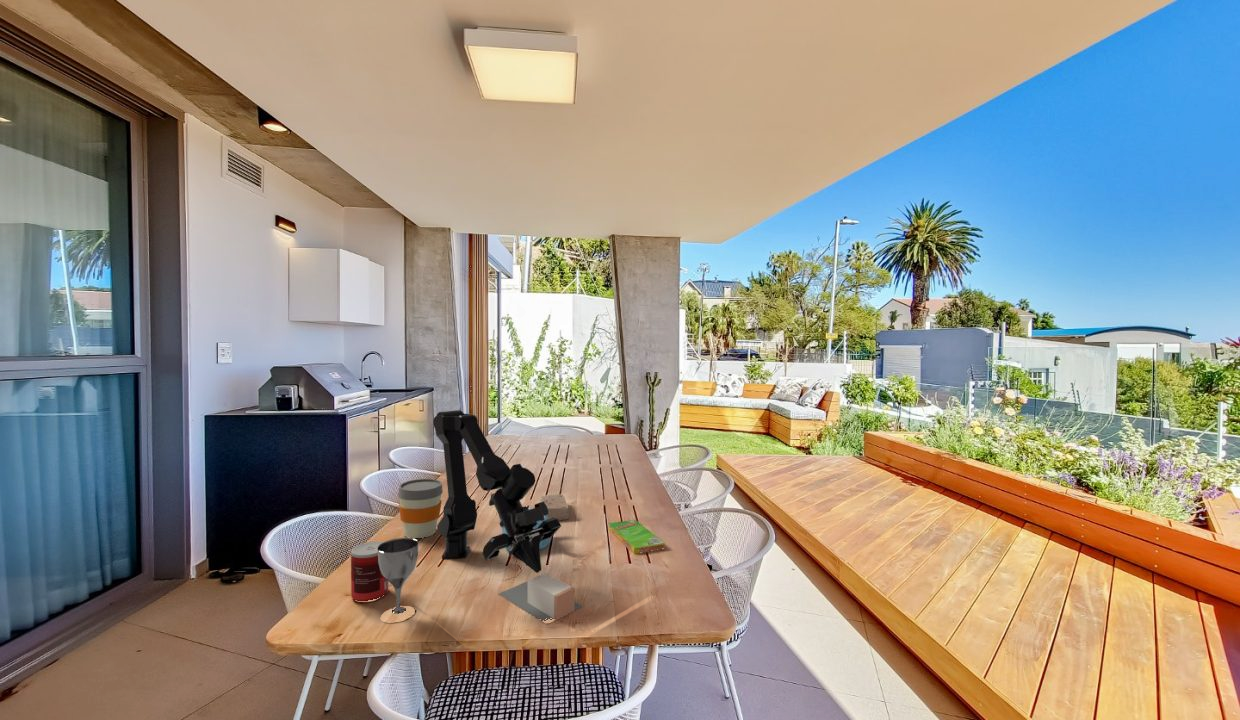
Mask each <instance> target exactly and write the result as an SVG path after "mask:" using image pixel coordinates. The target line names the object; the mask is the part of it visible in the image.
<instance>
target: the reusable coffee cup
mask: <svg viewBox="0 0 1240 720" xmlns="http://www.w3.org/2000/svg"><path fill="white" fill-rule="evenodd" d="M442 494H443V482H442V481H441V480H437V479H435V478H434V479H433V478H420V479H419V478H418V479H411V480H407V481H404V482H402V483H400V484H399V486H398V492H397V497H398V498H399V502H400V503H399V504H398V508H399V517H400V518H399V519H400V521H401V522H402V528H403V535H405V536H406V537H410V538H422V539H425V538H424V537H427V538H429V537H428V536H430V537H431V535H432V536H434V535H435V534H436V530H437V525H438V519H439V517H440V512H441V507H442V499H441V497H442ZM434 533H435V534H434ZM433 534H434V535H433ZM405 536H404V537H405ZM406 537H405V538H406Z"/></svg>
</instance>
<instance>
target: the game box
mask: <svg viewBox="0 0 1240 720" xmlns="http://www.w3.org/2000/svg"><path fill="white" fill-rule="evenodd" d="M608 526H609V532H610V533H611V534H612V535H613V536H614V537H615V538H616V539H618V541H619V540H620V541H621V542H620V541H619V542H620V543H622V544H623V546H624V547H626V548H627V549H628V550H629V551H630V552H631V553H632V552H633V553H634V554H633V553H632V554H633V555H637V554H636V553H640V552H645V553H648V552H647V551H651V550H657V549H662V548H664V549H665V545H666V544H665V542H664V541H662V540H661V539H660V538H659V537H657V536H656V535H655V534H654V533H652V531H650V530H649V529H648V528H647V527H645V526H644V525H643V524H642V523H641V522H639V521H638V520H636V519H632V520H631V519H630V520H624V521H617V522H616V521H615V522H608ZM657 551H658V550H657ZM651 552H652V551H651ZM640 554H641V553H640Z"/></svg>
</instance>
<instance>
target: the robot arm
mask: <svg viewBox="0 0 1240 720" xmlns="http://www.w3.org/2000/svg"><path fill="white" fill-rule="evenodd" d="M478 422H479V421H478V417H477V416H476V415H475V414H472V413H464V412H463V411H462V410H461V409H460V410H459V409H458V410H447V411H438V412H437V413H436V415H435V416H434V417H433V422H432V424H433V428H434V432H435V436H436V437H437V438H438V440H439V441H440V442H441V443H442V444H443V455H444V464H445V476H446V485H447V493H448V496H447V499H446V501H445V504H444V505H443V511H442V512H443V513H442V514H443V516H442V517H441V519H440V520H439V522H437V526H436V530H437V532H438V533H437V534H439V535H440V536H442V537H444V538H445V549H444V552H443V553H442V555H441V559H460V558H461V559H462V558H463V559H465V558H467V557H468V554H469V552H470V550H471V546H468V532H469V531H473V530H475V528H476V524H477V519H478V511H477V505H476V501H475V499H472V498H471V497H470V495H469V494H468V490H467V489H468V488H467V480H466V470H465V460H464V459H465V458H464V451H463V449H464V448H463V440H464V442H465V445H466V446H467V448H468V450H469V452H470V454H471V456H472V458H473V460H474V462H475V465H476V472H475V475H476V479H477V482H478V484H479V487H480V489H482V490H483V491H486V492H489V491H494V490H495V492H494V493H491V494H490V499H489V501H488V506H490V507H491V506H494V507H495V509H496V512H497V514H498V517H499V516H500V518H499V520H500V519H501V522H500V521H499V527H500V528H502V527H505V530H506V532H507V534H508V535H507V534H505V533H504V534H502V533H500V534H498V535H495V536H492V537H491V538H489V540H488V541H487V543H485V545H484V546H483V549H482V555H483V558H484V559H485V561H489V560H491V559H495V558H498V556H499V554H500V550H503V549H506V547H509V548H510V550H511V551H508V556H509V557H511V556H513V557H515V558H516V559H517V560H519V561H521V562H523V563H524V565H526V566H527V567H529V568H530V569H531V570H533V572H534V573H540V572H541V571H542V564H541V553H540V551H541V550H540V541H543V540H546V539H549V538H550V537H553V536H554V535H555V534H556V533H557V532H558V531H559V529H560V528H561V527H562V524H561V523H560V520H558V519H557V518H551V519H548V520H545V519H544V516H545V515H548V508H547V506H546V504H545V503H544V502H538V503H535V504H534V507H533V508H531V509H530V510H529V509H528V508H529V507H527V506H525V505H524V506H523V505H522V502H521V500H523V499H524V497H526V495H527V494H528V493H529V492H530V490H531V489H532V488H533V487H534V485H535V484H536V476H535V474H534V473H533V472H532V471H531V470H530V469H528V468H527V467H523V466H522V465H521V464H522V463H516V464H513V465H512V466H511V467H509V465H508V464H507V462H506V461H505V460H504V459H503V458H501V457H500V456H499V455H496V453H495V452H494V451H493V448H492V447H491V445H490V444H489V441H488V440H487V438H486V436H485V434H484V432H483V430H482V429H481V426H480V425H479V423H478ZM543 520H545V521H543ZM537 521H543V522H542V523H541V524H540V525H539V526H538V528H536V529H533V527H534V526H536V525H537ZM528 535H529V536H528Z"/></svg>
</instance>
